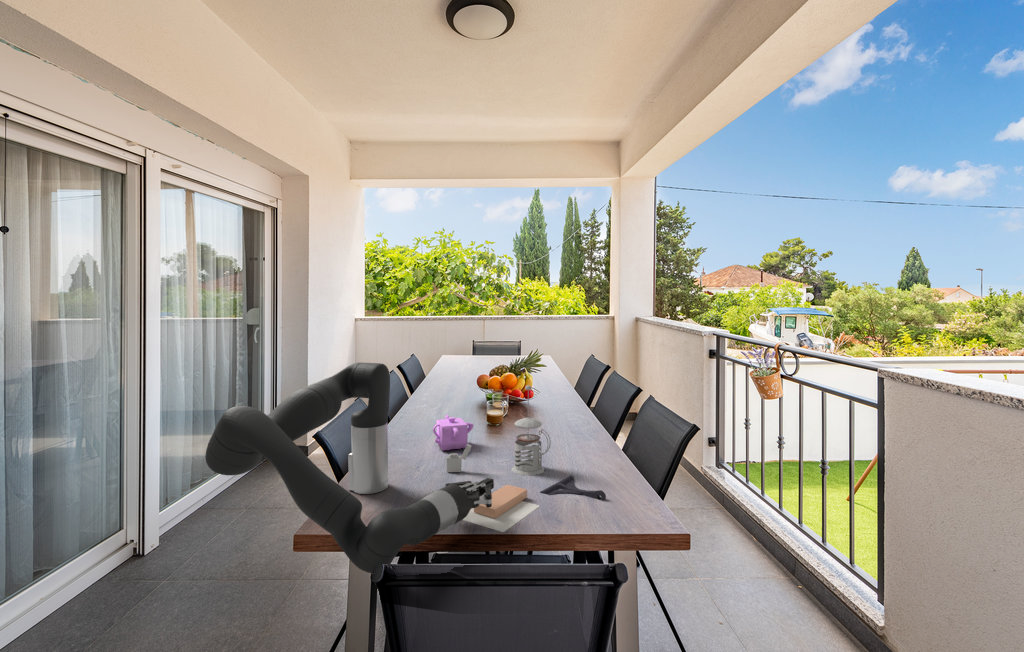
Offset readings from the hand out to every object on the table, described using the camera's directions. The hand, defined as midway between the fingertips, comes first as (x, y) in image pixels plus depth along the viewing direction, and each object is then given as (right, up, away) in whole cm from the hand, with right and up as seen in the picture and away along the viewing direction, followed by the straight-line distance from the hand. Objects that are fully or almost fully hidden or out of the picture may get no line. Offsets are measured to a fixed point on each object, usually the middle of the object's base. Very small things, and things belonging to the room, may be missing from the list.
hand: (491, 482), depth 115 cm
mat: (+1, -7, +1) cm, 8 cm away
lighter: (-10, -6, +29) cm, 31 cm away
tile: (-1, -6, -2) cm, 6 cm away
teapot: (-15, -5, +53) cm, 56 cm away
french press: (+10, -6, +30) cm, 32 cm away
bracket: (+22, -8, +13) cm, 27 cm away
